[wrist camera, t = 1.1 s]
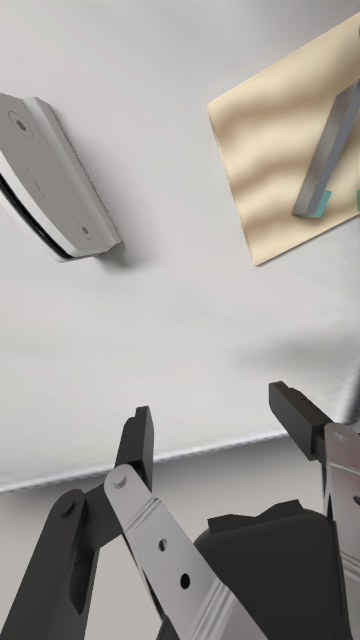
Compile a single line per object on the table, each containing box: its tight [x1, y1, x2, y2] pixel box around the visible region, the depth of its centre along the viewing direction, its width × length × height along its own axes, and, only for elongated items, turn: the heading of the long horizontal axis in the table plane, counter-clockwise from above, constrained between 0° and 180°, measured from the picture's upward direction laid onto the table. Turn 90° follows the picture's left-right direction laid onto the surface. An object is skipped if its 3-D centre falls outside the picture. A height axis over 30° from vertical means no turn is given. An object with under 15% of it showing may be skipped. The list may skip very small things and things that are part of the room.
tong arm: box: [291, 78, 360, 218], centre depth 23 cm, size 18×3×4 cm, turn 168°
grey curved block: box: [0, 93, 122, 263], centre depth 22 cm, size 17×5×10 cm, turn 24°
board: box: [207, 12, 360, 265], centre depth 26 cm, size 21×24×1 cm
